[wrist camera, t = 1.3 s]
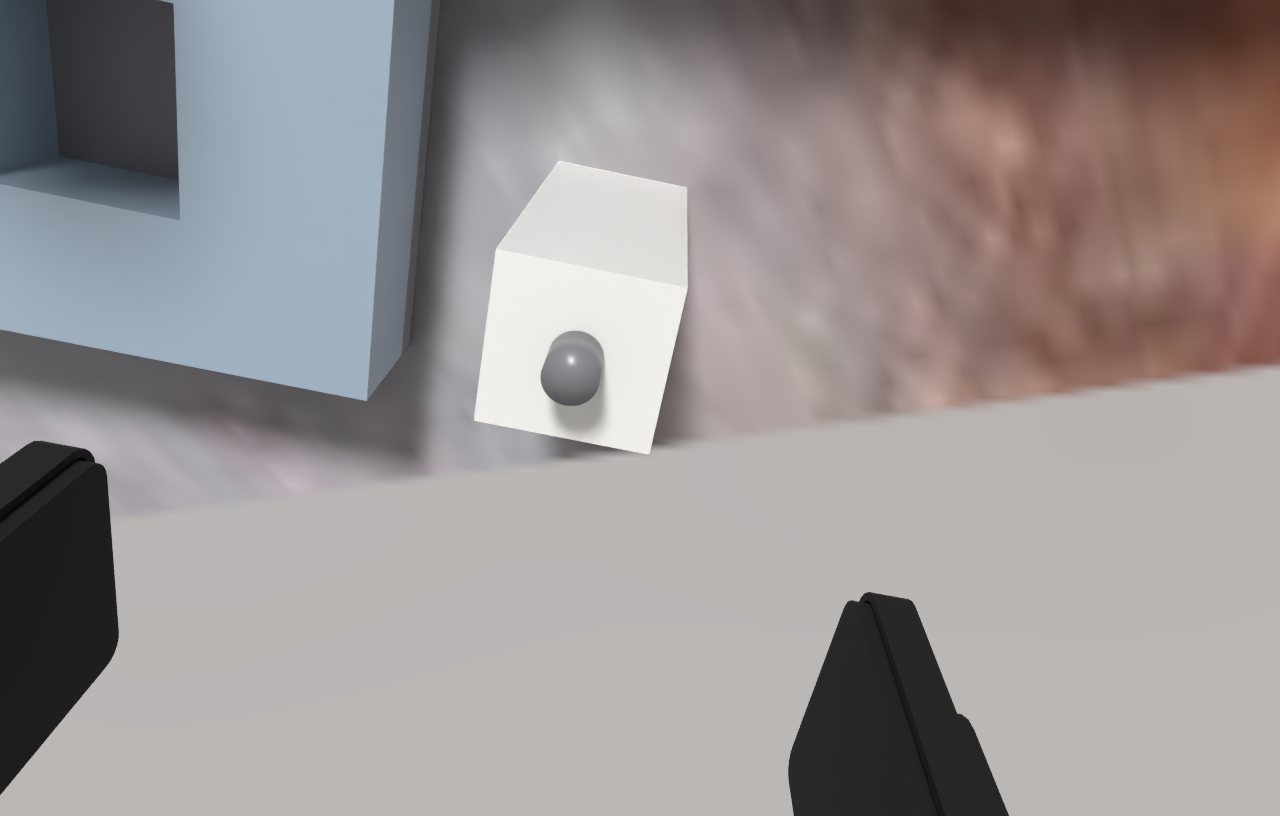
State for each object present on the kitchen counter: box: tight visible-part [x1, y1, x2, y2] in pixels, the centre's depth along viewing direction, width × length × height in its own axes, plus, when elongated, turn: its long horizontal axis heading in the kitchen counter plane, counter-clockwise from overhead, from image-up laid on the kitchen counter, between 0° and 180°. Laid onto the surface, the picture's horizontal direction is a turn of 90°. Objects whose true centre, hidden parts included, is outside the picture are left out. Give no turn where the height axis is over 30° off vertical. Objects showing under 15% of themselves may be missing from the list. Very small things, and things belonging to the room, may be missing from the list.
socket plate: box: [0, 0, 441, 401], centre depth 25 cm, size 16×14×4 cm
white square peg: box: [474, 161, 688, 455], centre depth 23 cm, size 4×4×11 cm
